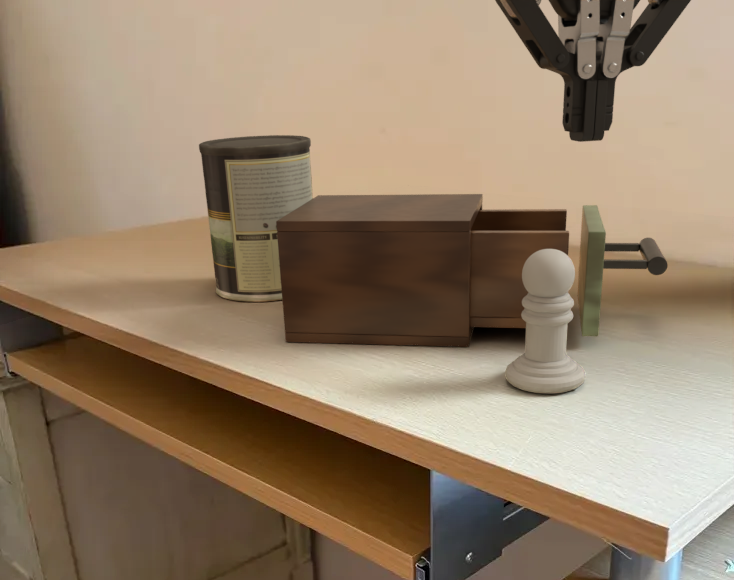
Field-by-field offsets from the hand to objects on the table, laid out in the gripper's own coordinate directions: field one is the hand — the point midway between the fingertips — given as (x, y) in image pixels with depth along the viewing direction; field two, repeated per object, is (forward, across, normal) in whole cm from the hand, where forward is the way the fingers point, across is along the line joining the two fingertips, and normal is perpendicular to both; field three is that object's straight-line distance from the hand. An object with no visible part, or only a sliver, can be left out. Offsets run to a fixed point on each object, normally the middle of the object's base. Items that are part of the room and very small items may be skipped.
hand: (586, 139), depth 54 cm
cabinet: (+15, -11, +13) cm, 23 cm away
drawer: (+14, +1, +8) cm, 16 cm away
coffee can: (+15, -20, +28) cm, 37 cm away
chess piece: (+15, -4, -4) cm, 16 cm away
